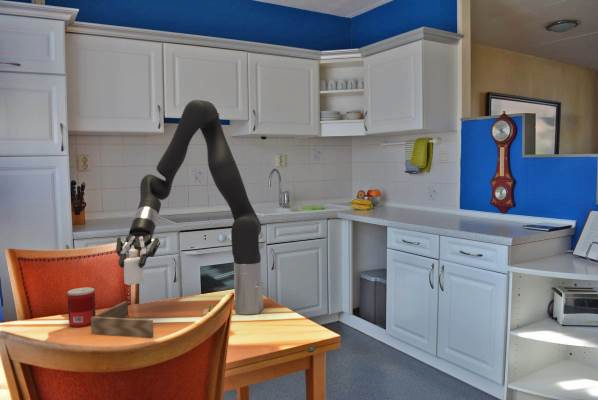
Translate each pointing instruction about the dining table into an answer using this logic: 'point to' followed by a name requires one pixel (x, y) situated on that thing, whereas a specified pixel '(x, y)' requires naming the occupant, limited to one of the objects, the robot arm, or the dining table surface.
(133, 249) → the eye dropper bottle
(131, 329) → the corner arena
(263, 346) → the dining table surface
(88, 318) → the canned food
